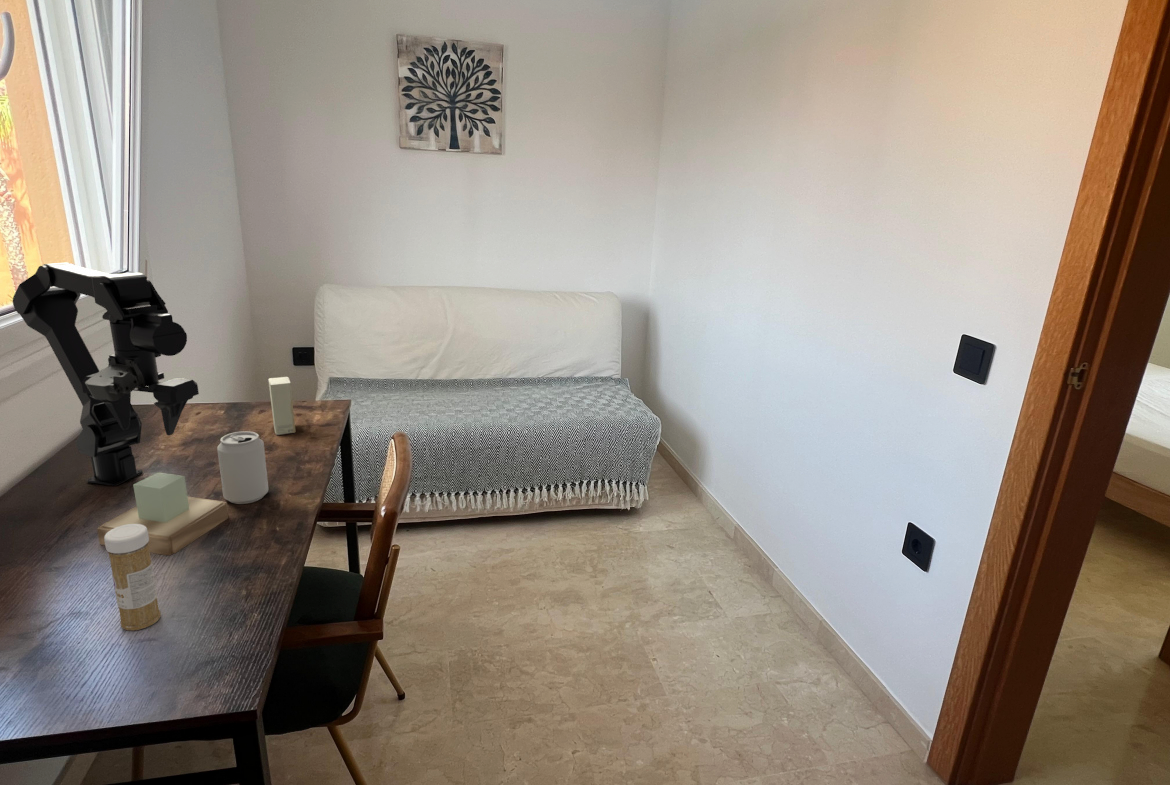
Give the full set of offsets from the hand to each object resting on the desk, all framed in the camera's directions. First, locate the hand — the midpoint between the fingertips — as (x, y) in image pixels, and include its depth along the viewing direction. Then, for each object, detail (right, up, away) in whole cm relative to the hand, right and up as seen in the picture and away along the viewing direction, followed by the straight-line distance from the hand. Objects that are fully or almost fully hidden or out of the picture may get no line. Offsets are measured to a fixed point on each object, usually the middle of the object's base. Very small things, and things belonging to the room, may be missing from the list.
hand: (147, 431), depth 118 cm
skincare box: (+8, -2, +36) cm, 37 cm away
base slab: (+9, -16, -9) cm, 20 cm away
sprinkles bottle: (+20, -23, -31) cm, 44 cm away
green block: (+9, -13, -10) cm, 19 cm away
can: (+16, -12, +4) cm, 21 cm away
